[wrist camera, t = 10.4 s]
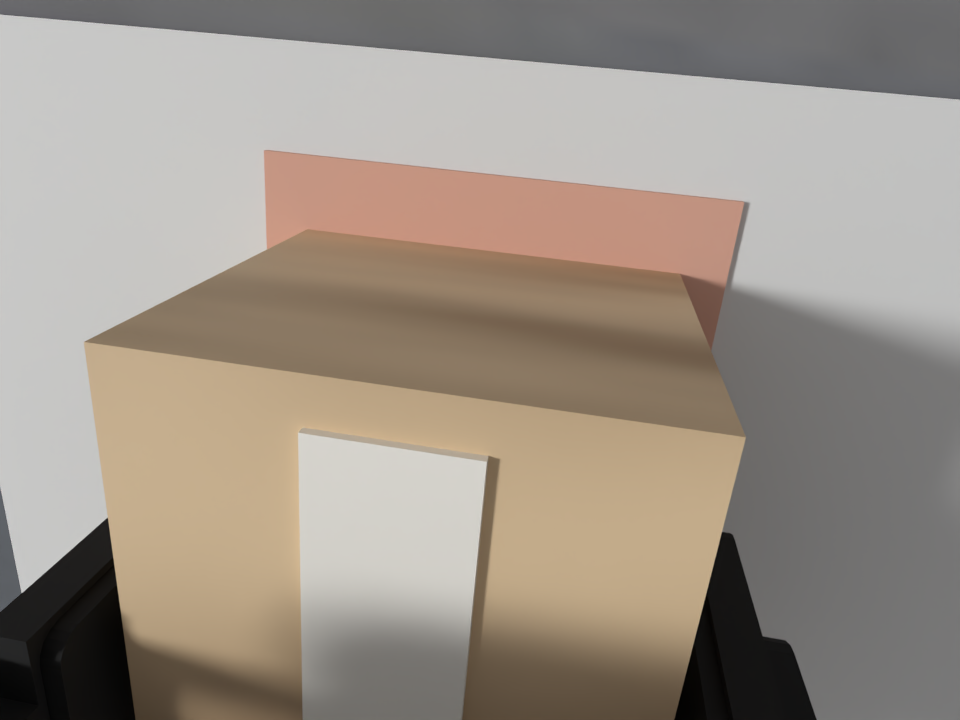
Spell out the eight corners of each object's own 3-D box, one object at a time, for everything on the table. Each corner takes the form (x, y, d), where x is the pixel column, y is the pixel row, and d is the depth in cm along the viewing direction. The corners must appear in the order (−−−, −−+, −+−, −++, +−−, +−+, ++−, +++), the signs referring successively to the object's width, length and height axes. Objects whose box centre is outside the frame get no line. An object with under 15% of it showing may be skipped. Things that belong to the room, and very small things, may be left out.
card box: (307, 229, 11) (76, 346, 6) (679, 273, 10) (749, 443, 5) (311, 680, 14) (165, 980, 9) (590, 735, 13) (584, 1085, 9)
